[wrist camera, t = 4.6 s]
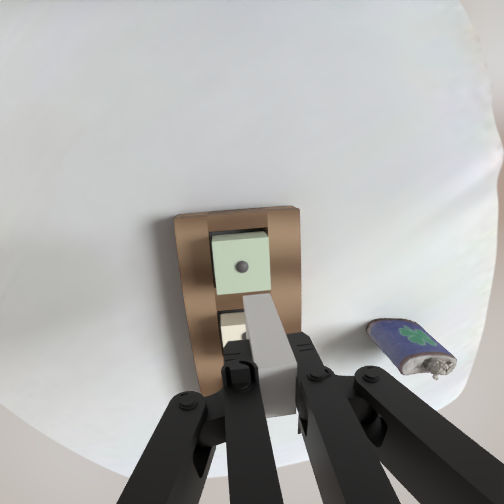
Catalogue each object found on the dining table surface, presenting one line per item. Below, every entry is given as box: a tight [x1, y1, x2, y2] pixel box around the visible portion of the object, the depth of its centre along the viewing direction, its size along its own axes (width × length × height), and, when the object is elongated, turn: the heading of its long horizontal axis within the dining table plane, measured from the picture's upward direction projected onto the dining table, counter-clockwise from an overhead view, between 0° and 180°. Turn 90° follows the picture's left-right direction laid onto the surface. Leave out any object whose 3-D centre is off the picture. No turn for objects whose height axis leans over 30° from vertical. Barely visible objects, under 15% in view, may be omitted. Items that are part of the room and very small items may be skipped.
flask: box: [366, 318, 457, 380], centre depth 29 cm, size 9×3×11 cm, turn 76°
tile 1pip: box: [212, 231, 271, 295], centre depth 26 cm, size 4×4×3 cm
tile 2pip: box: [221, 312, 247, 348], centre depth 27 cm, size 4×4×3 cm
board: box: [174, 206, 301, 408], centre depth 30 cm, size 23×11×3 cm, turn 4°
